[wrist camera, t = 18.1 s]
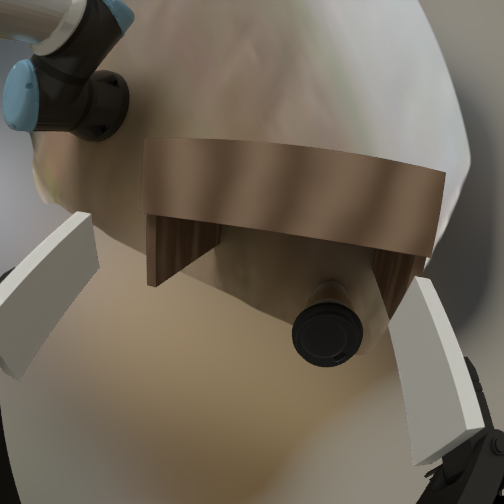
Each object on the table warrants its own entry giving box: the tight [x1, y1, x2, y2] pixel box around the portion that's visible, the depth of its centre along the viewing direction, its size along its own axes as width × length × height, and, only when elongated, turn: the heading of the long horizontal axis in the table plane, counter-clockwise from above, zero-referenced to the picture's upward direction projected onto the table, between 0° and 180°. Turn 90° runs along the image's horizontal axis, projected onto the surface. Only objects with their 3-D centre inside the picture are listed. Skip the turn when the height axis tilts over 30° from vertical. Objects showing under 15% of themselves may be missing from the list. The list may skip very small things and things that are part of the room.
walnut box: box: [141, 138, 446, 320], centre depth 38 cm, size 28×16×22 cm, turn 84°
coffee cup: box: [292, 281, 363, 367], centre depth 43 cm, size 9×9×15 cm
